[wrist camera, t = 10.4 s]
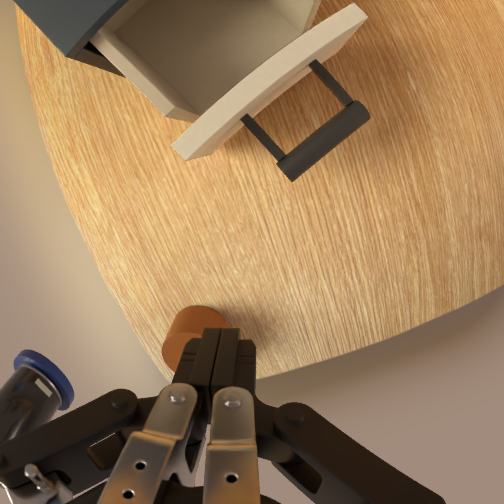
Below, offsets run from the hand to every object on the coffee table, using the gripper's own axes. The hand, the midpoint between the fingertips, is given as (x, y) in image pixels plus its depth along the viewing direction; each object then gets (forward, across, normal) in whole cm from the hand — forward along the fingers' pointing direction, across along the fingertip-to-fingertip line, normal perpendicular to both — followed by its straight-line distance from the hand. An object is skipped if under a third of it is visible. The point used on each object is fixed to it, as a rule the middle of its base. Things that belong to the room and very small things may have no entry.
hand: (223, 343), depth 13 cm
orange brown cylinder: (+14, +4, +9) cm, 17 cm away
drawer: (+13, +1, -15) cm, 20 cm away
